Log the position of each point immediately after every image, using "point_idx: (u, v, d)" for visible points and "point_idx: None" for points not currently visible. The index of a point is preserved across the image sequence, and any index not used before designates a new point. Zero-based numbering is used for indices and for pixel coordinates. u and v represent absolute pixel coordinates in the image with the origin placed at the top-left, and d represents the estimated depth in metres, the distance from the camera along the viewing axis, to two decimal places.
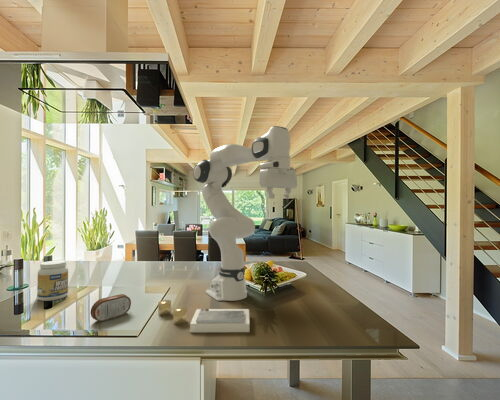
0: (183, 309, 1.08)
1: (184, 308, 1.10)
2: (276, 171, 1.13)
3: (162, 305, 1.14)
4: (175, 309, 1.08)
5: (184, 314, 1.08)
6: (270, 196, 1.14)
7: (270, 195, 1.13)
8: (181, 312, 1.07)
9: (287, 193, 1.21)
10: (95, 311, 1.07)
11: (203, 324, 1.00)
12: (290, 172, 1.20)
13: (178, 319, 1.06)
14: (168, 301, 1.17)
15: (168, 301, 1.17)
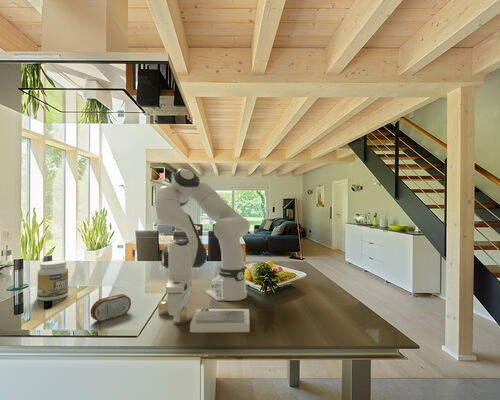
0: (183, 309, 1.09)
1: (184, 308, 1.10)
2: (183, 293, 1.04)
3: (162, 305, 1.14)
4: None
5: (184, 314, 1.08)
6: (177, 319, 1.05)
7: (178, 318, 1.05)
8: (181, 312, 1.07)
9: None
10: (95, 311, 1.07)
11: (203, 324, 1.00)
12: None
13: None
14: None
15: None
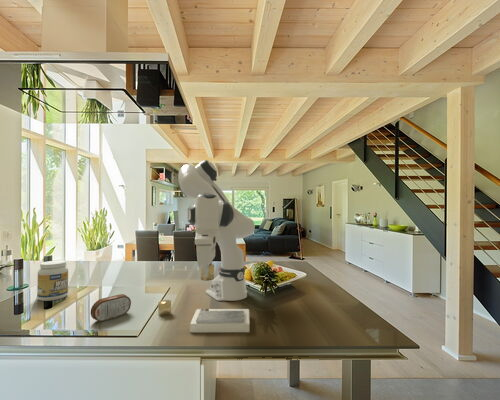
0: (210, 265, 1.05)
1: (211, 265, 1.06)
2: (212, 246, 1.01)
3: (162, 305, 1.14)
4: None
5: (212, 270, 1.04)
6: (205, 274, 1.02)
7: (206, 272, 1.02)
8: (209, 267, 1.04)
9: None
10: (95, 311, 1.07)
11: (203, 324, 1.00)
12: None
13: None
14: (168, 301, 1.17)
15: (168, 301, 1.17)
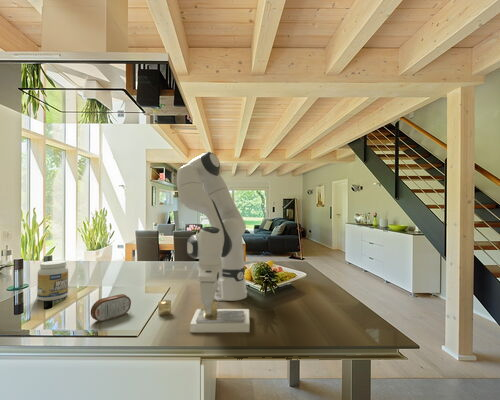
0: (214, 302, 1.05)
1: (214, 301, 1.06)
2: (215, 282, 1.01)
3: (162, 305, 1.14)
4: None
5: (215, 307, 1.04)
6: (208, 311, 1.00)
7: (209, 310, 1.00)
8: (212, 305, 1.03)
9: None
10: (95, 311, 1.07)
11: (203, 324, 1.00)
12: None
13: None
14: (168, 301, 1.17)
15: (168, 301, 1.17)
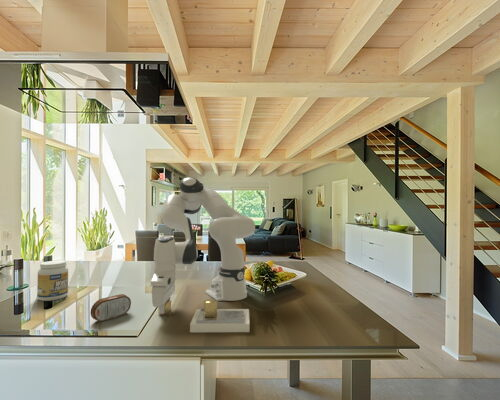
0: (214, 301, 1.06)
1: (214, 300, 1.07)
2: (167, 286, 1.12)
3: None
4: (206, 301, 1.05)
5: (216, 306, 1.05)
6: (162, 311, 1.13)
7: (162, 310, 1.13)
8: (213, 304, 1.04)
9: None
10: (95, 311, 1.07)
11: (203, 324, 1.00)
12: None
13: (210, 311, 1.03)
14: (168, 301, 1.17)
15: (168, 301, 1.17)
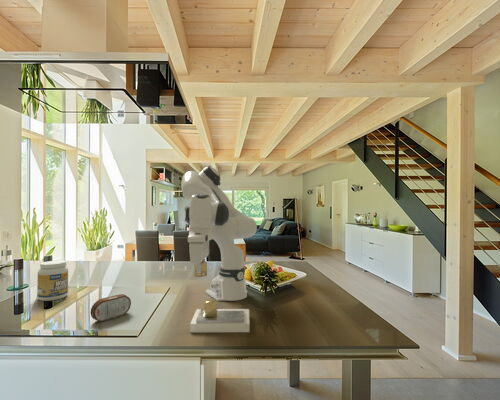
0: (214, 300, 1.06)
1: (213, 300, 1.07)
2: (204, 244, 1.06)
3: None
4: (206, 302, 1.04)
5: (216, 305, 1.05)
6: (198, 270, 1.07)
7: (199, 269, 1.07)
8: (215, 303, 1.04)
9: None
10: (95, 311, 1.07)
11: (203, 324, 1.00)
12: None
13: (212, 310, 1.03)
14: (204, 262, 1.11)
15: (204, 262, 1.11)
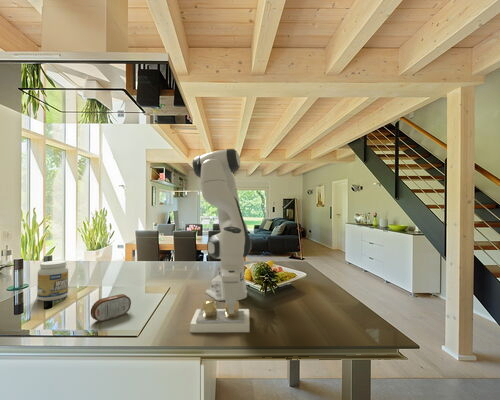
0: (212, 300, 1.06)
1: (211, 299, 1.07)
2: None
3: None
4: (207, 303, 1.04)
5: None
6: (231, 311, 1.00)
7: (232, 310, 1.00)
8: None
9: None
10: (95, 311, 1.07)
11: (203, 324, 1.00)
12: None
13: (215, 310, 1.04)
14: None
15: (236, 301, 1.06)
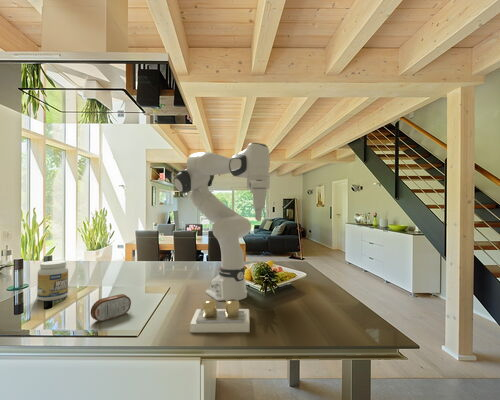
0: (211, 299, 1.07)
1: (208, 300, 1.07)
2: None
3: (230, 305, 1.03)
4: (209, 302, 1.04)
5: None
6: (259, 218, 1.04)
7: (259, 217, 1.04)
8: None
9: None
10: (95, 311, 1.07)
11: (203, 324, 1.00)
12: None
13: (216, 308, 1.05)
14: (236, 301, 1.06)
15: (236, 301, 1.06)
